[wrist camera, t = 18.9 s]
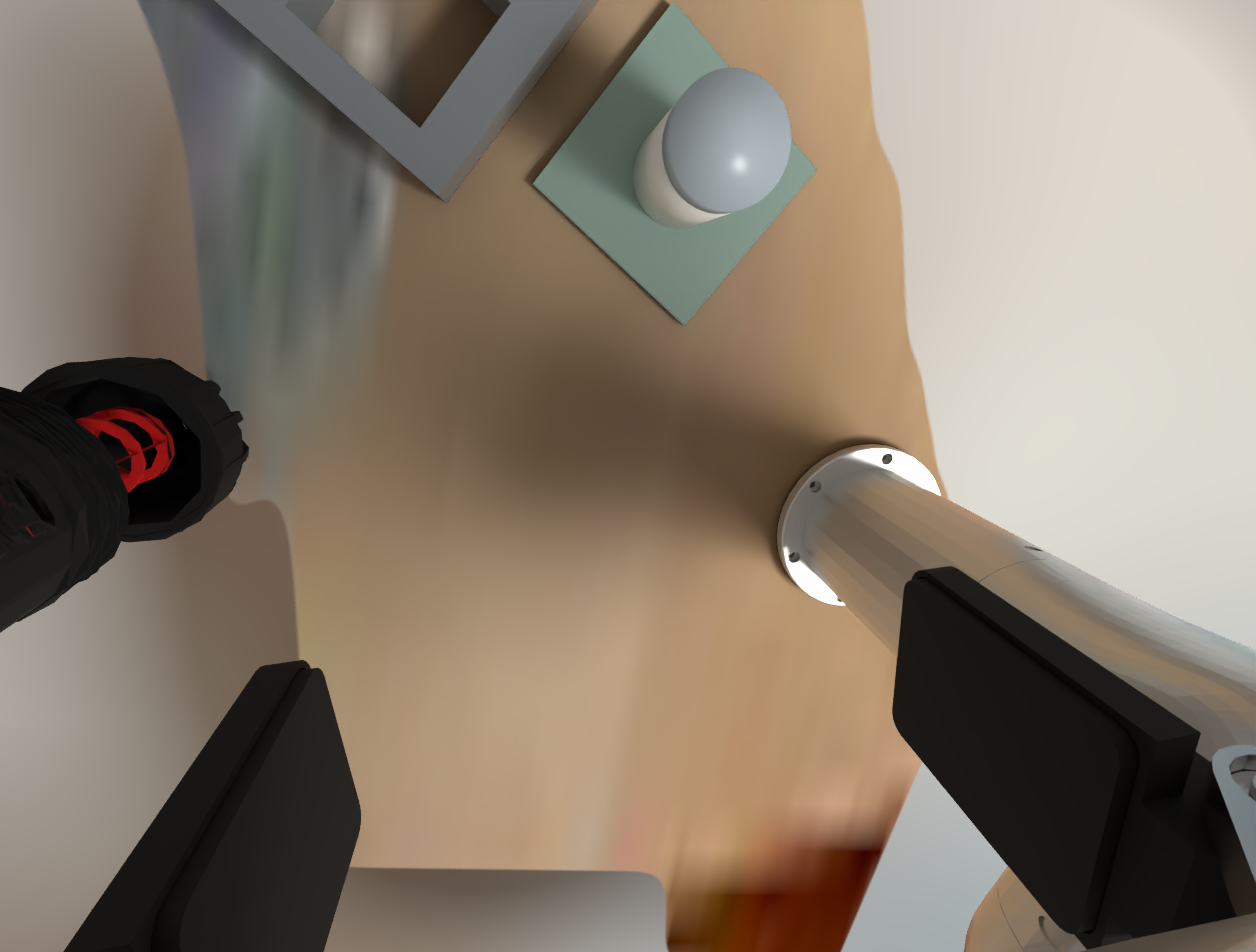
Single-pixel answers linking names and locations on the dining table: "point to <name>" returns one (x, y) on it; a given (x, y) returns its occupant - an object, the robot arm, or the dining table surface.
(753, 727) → the dining table surface
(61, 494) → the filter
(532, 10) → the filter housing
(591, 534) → the dining table surface
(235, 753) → the robot arm
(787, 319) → the dining table surface
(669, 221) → the dome-topped cylinder
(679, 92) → the mat
